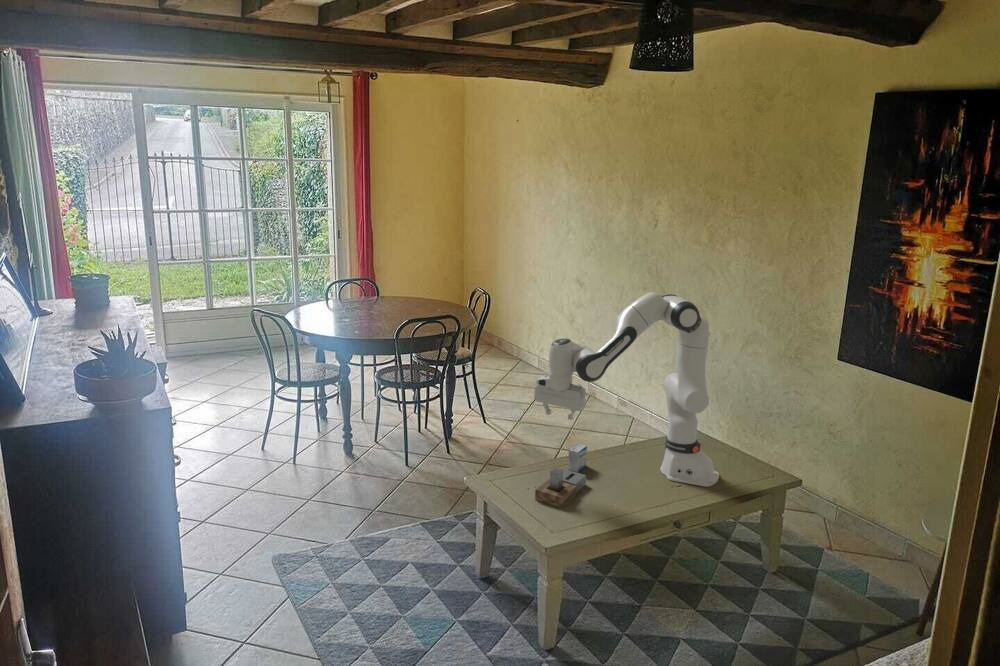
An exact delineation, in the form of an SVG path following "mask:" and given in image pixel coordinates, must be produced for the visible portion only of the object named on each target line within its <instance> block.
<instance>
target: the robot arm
mask: <svg viewBox="0 0 1000 666" xmlns="http://www.w3.org/2000/svg"><path fill="white" fill-rule="evenodd" d="M615 321H616V322H615V326H616V331H615V333H614V335H613V337H612V338H611V339H609V341H607V342H606V344H604V345H603V347H601V348H600V349H599V350H597V351H596V352H595V351H594V350H593V349H591V348H590V347H588V346H587V345H581V344H578V343H576V342H574V341H572V340H571V339H569V338H559V339H556V340H554V341H553V342H552V343H551V344H550V346H549V347H550V348H549V353H548V365H549V371H548V374H545V375H542V376H540V377H538V378H537V379H536V385H535V387H534V388H535V389H534V395H533V396H534V398H533V399H534V400H535V402H536V403H542V407H543V408H544V410H545V415H551V414H552V409H551V408H550V406H554V407H560V408H565V409H570V412H571V413H569V414H568V415H567V420H571V421H572V420H573V419H574V416H575V413H576V412H577V411H579V412H581V411H583V410H585V408H586V406H587V403H586V391H587V390H586V389H585V388H584V387H583V386H582V385H578V384H573V373H577V375H578V377H579V378H580V379H581V380H583V381H584V382H588V383H593V382H596V381H598V380H600V379H601V378H602V377H603V375H605V373H606V370H607V369H608V368H609V367H610V365H611V364H612V363H613V362H614V361H615V360H617V358H618V357H620V355H622V354H623V353H624V352H625V351H626V350H628V348H630V346H631V345H632V344H633V343H634V342H635V341H636V339H637V338H638V337H639V336H640V335H642V334H643V333H644V332H645V331H646V330H648V329H649V328H650V327H651V326H652V325H654V324H655V323H657V322H658V321H664V323H666V324H668V325H669V326H671V327H675V328H676V329H678V331H679V335H678V340H677V347H676V352H675V353H676V355H675V367H676V371H677V372H676V371H675V372H671V373H669V374H668V375H667V376H666V377H665V379H664V381H663V389H664V392H665V396H666V406H667V416H668V417H667V419H668V425H667V435H666V437H665V442H664V449H665V451H664V455H663V460H662V464H661V466H660V468H659V469H660V472H661V473H662V474H663V475H664V476H666V478H667V479H668V480H669V481H672V482H679V483H684V484H688V485H689V484H690V485H694V486H700V487H706V488H708V487H712V486H713V485H715V484H716V483H718V481H719V480H720V479H719V478H720V475H719V472H718V471H716V470H714V463H713V460H712V459H711V458H710V457H708V456H707V455H706V454H705V453H704V452H703V451H702V450H701V446H702V441H700V442H699V441H698V440H697V433H698V418H697V415H696V414H700V413H703V412H704V411H705V410H706V409H707V408H708V406H709V404H710V397H709V394H708V391H707V383H706V382H707V380H706V363H707V362H706V361H707V360H706V359H707V353H708V347H709V341H710V340H709V338H710V327H709V321H708V320H707V319H706V318H705V317H703V316H702V315H700V311H699V309H698V307H697V305H695V304H694V303H692V302H691V301H689V299H686V298H684V297H681V296H678V295H676V294H664V295H661V294H660V293H658V292H655V291H649V292H647V293H645V294H644V295H642V296H639V297H638V298H636V300H634V301H633V302H631V303H630V304H629V305H627V306H626V307H625V308H624V309H623V310H622V311H621V312H620V313H619V314H618V315H617V317H616V320H615ZM549 405H550V406H549Z"/></svg>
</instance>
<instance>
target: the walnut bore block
mask: <svg viewBox="0 0 1000 666" xmlns="http://www.w3.org/2000/svg"><path fill="white" fill-rule="evenodd" d="M534 495H535V496H534V500H536V501H539V502H543V503H545V504H548V505H552V506H554V507H558V508H561V509H562V508H564V507H565V506H566V505H567V504H568V503H570V502H571V501H572V500H573V499H574V498H575V497H576V496H577V493H576V486H575V485H571V484H568V483H565V482H563V486H562V491H560V492H555V491H552V490H550V478H549V479H547V480H546V481H544V482H543V483H541V485H539V486H538V487H536V489H535V493H534Z"/></svg>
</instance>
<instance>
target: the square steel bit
mask: <svg viewBox="0 0 1000 666" xmlns="http://www.w3.org/2000/svg"><path fill="white" fill-rule="evenodd" d="M563 470H564V469H559V468H557V467H554V468H553V469H552V470H550V471H549V472H550V475H549V476H550V477H549V479H550V490H552V491H555V492H560V491H562V486H563Z"/></svg>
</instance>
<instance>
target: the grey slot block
mask: <svg viewBox="0 0 1000 666" xmlns="http://www.w3.org/2000/svg"><path fill="white" fill-rule="evenodd" d="M562 470H563V482H565V483H568V484H571V485H575V486H576V494H577V492H579V491H580V490H582V488H584V487H585V486H586V485H587V484H586V482H587V475H586V474H583V473H580V472H575V471H571V470H568V469H566V468H565V469H562Z"/></svg>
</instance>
